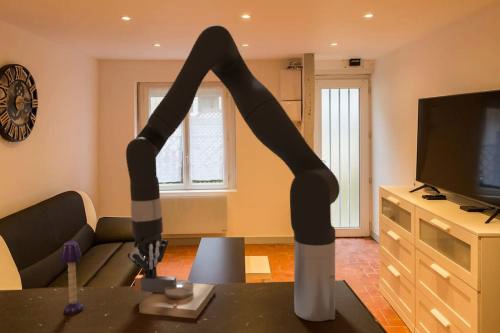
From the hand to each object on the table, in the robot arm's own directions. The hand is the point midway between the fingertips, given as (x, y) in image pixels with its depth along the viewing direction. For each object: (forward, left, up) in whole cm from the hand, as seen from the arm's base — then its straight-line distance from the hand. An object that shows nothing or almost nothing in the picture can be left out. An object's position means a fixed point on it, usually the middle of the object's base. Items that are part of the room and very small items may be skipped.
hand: (151, 281), depth 98 cm
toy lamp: (+14, +12, -4) cm, 19 cm away
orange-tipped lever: (-5, +3, -1) cm, 6 cm away
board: (-9, +3, -4) cm, 10 cm away
